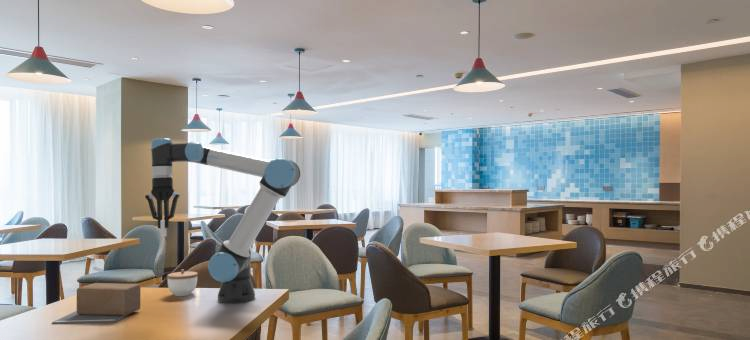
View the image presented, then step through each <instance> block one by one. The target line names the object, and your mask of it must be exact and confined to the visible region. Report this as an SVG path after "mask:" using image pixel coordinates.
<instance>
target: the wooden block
mask: <svg viewBox="0 0 750 340" xmlns="http://www.w3.org/2000/svg"><path fill="white" fill-rule="evenodd" d="M140 309H141V285H140V284H138V283H118V282H117V283H114V282H112V283H111V282H109V283H107V282H105V283H104V282H94V283H91V284H87V285H83V286H81V287H78V288H77V289H76V311H77V314H82V315H111V316H125V315H127V314H129V315H131V314H132V312H133V313H134V312H137V311H139V310H140ZM130 313H131V314H130Z"/></svg>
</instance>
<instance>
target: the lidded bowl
mask: <svg viewBox="0 0 750 340" xmlns="http://www.w3.org/2000/svg"><path fill="white" fill-rule="evenodd" d="M198 274H199V273H198V272H197V271H185V269H181V270H180V271H176V272H175V271H174V272H172V273H168V274H167V275H166V278H167V287H168V290H169V291H170V293H172V294H173V297H186V296H189V295H192V293H193V292H194V291H195V289H196V287H197V284H198V276H199V275H198Z"/></svg>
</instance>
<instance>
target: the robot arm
mask: <svg viewBox="0 0 750 340" xmlns="http://www.w3.org/2000/svg"><path fill="white" fill-rule="evenodd" d="M150 151H151V176H152V179H151V183H152V185H151V187H152V189H151V191H150V193H148V194H146V195H145V198H144V199H146V200H147V202H148V207H149V209H150V213H151V217H152V219H154V220H156V221H157V227H158V229H160V238H165V237H167V236H168V234H167V229H169V227H170V220H171V219H173V218H174V217H175V214H176V213H175V212H176V209H177V204H178V200H179V198H180V196H181V194H180V193H176V192H175V189H174V188H173V187H174V183H173V182H174V181H173V180H174V179H173V163H179V162H180V163H184V162H185V163H187V162H188V163H196V164H200V165H205V166H208V167H209V166H210V167H214V168H217V169H218V168H219V169H223V170H228V171H232V172H236V173H241V174H246V175H250V176H255V177H259V178H261V179H260V180H259V182H258V183H259V190H258V191H257V193H256V195H255V197H254V198H253V200H252V201H251V203H250V205H249V206H248V208H247V209H246V211H245V213H244V215H243V216H242V218H241V220H240V221H239V223H238V225H236V228H235V229H234V231H233V233H232V234H231V236H230V238H229V239H227V240H223V242H222V243H221V244H220V247H219V248H218V250H217V252H216V253H215V254H213V255H212V256H211V257H210V259H209V261H208V264H207V270H208V273H209V275H210V276H211V278H213V280H215V281H217V282H220V283H221V284H220V288H219V290H218V293H217V301H218V302H219V303H226V304H234V303H235V304H236V303H237V304H238V303H245V302H250V301H253V300H255V298H256V293H255V289H254V286H253V283H252V280H251V278H252V277H251V276H252V274H251V273H252V272H251V271H252V269H251V268H252V267H251V266H252V265H251V263H252V262H251V260H252V257H251V256H252V249H251V247H252V246H253V243H254V242H255V240H256V238H257V237H258V235H259V233H260V232H261V230H262V228H263V227H264V225H265V224H266V222H267V220H268V218H269V217H270V215H271V213H272V212H273V210H274V209H275V207H276V206H277V203H278V202H279V200H280V199H283V198H285V197H286V196H287V195H288V193H289V191H290V189H291V188H292V187H293V186H295V185H296V184H297V183H298V182H299V180H300V178H301V169H300V167H299V165H298V164H297V163H296V162H294V160H291V159H288V158H285V157H278V158H275V159H274V158H271V159H263V158H259V157H255V156H249V155H246V154H241V153H236V152H232V151H231V152H230V151H227V150H223V149H222V150H221V149H218V148H213V147H208V146H205V145H202V143H200V142H194V141H193V142H192V141H190V142H179V143H177V142H173V141H172V139H171V138H165V137H163V138H162V137H161V138H158V137H157V138H153V139H152V140H151V149H150ZM171 197H172V202H171V207H170V206H169V205H170V199H171ZM153 198H154V199H155V200H156V205H157V206H156V205H155V202H154V199H153ZM163 212H164V213H163ZM163 216H164V217H163Z"/></svg>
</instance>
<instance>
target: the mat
mask: <svg viewBox="0 0 750 340" xmlns="http://www.w3.org/2000/svg"><path fill="white" fill-rule="evenodd" d="M132 313H134V312H132ZM132 313H130V314H127V315H125V316H111V315H82V314H77V310H75V311H73V312H70V313H69V314H67V315H65V316H62V317H60V318H58V319H56V320H54V321H52V322H51V324H52V325H62V324H64V325H65V324H93V323H94V324H95V323H96V324H98V323H118V322H120V321H121V320H123V319H125V318H126V317H128V316H129V315H131V314H132Z"/></svg>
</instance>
